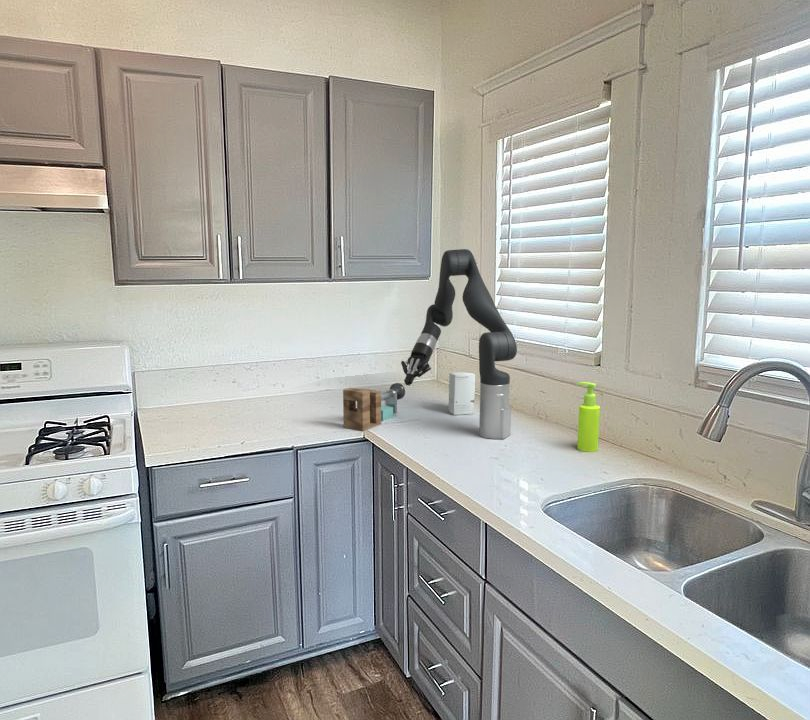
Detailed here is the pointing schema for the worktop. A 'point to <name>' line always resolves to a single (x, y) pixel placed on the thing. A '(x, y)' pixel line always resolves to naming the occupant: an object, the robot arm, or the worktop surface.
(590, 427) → the soap dispenser
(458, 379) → the skincare box
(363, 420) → the bearing stand
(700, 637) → the worktop surface
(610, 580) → the worktop surface
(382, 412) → the block
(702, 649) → the worktop surface
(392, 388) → the shaft
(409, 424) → the worktop surface
